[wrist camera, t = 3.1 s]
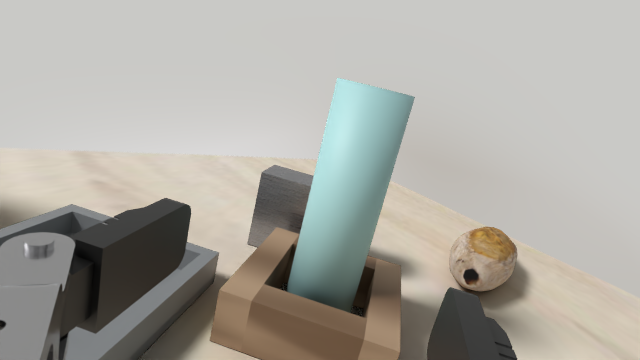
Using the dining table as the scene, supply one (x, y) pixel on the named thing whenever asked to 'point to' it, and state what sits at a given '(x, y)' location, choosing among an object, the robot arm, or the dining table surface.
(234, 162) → the dining table surface
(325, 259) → the dowel
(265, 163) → the dining table surface
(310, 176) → the gray rectangular block
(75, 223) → the tray
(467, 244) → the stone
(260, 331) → the socket
